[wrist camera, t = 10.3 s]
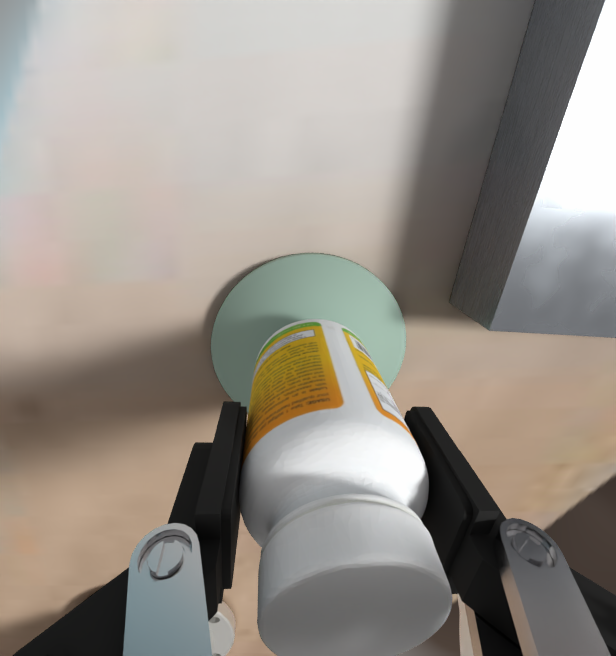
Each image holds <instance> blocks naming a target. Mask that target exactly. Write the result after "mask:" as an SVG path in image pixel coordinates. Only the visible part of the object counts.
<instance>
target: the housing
mask: <svg viewBox="0 0 616 656" xmlns="http://www.w3.org/2000/svg"><path fill="white" fill-rule="evenodd" d="M449 303H450V304H452V305H453V306H455V307H456V308H458V309H459V310H460V311H462V312H463V313H465V314H466V315H468V316H469V317H470V318H472V319H473V320H475V321H476V322H478V323H479V324H481V325H482V326H483V327H485V328H486V329H488V330H489V331H506V332H524V333H541V334H559V335H576V336H594V337H611V338H616V0H536V1H535V4H534V8H533V11H532V15H531V18H530V22H529V25H528V29H527V32H526V36H525V39H524V42H523V46H522V49H521V53H520V56H519V60H518V63H517V67H516V70H515V74H514V77H513V81H512V84H511V88H510V91H509V95H508V98H507V102H506V105H505V109H504V112H503V116H502V119H501V123H500V126H499V130H498V133H497V137H496V140H495V144H494V147H493V151H492V154H491V158H490V161H489V165H488V168H487V172H486V175H485V179H484V182H483V186H482V189H481V193H480V196H479V200H478V203H477V207H476V210H475V214H474V217H473V221H472V224H471V228H470V231H469V235H468V238H467V242H466V245H465V249H464V252H463V256H462V259H461V263H460V266H459V270H458V273H457V277H456V280H455V284H454V287H453V291H452V294H451V298H450V301H449Z"/></svg>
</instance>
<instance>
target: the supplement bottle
mask: <svg viewBox="0 0 616 656" xmlns="http://www.w3.org/2000/svg"><path fill="white" fill-rule="evenodd" d="M428 493H429V477H428V472H427V468H426V465H425V461H424V459H423V457H422V454H421V452H420V450H419V448H418V445H417V443H416V441H415V439H414V438H413V436H412V434H411V432H410V430H409V428H408V427H407V425H406V423H405V421H404V419H403V417H402V415H401V413H400V411H399V410H398V408H397V406H396V404H395V402H394V400H393V398H392V396H391V394H390V392H389V390H388V388H387V387H386V385H385V383H384V381H383V379H382V377H381V375H380V373H379V372H378V370H377V367H376V366H375V364H374V362H373V360H372V358H371V356H370V354H369V352H368V350H367V349H366V347H365V346H364V344H363V343H362V341H361V340H360V339H359V337H358V336H357V335H356V334H355V333H354V332H352V331H351V330H350V329H348V328H347V327H345V326H343V325H341V324H339V323H336V322H333V321H330V320H324V319H307V320H301V321H297V322H294V323H291V324H289V325H287V326H285V327H283V328H281V329H279V330H278V331H276V332H275V333H274V334H273V335H272V336H271V337H269V339H268V340H267V341H266V342H265V344H264V345H263V347H262V348H261V350H260V352H259V354H258V357H257V360H256V363H255V369H254V375H253V381H252V390H251V397H250V405H249V413H248V420H247V427H246V434H245V442H244V450H243V458H242V465H241V473H240V485H239V504H240V511H241V514H242V517H243V520H244V523H245V525H246V527H247V529H248V531H249V533H250V534H251V536H252V537H253V538H254V540H255V541H256V542H257V543H258V544H259V545H260V546H261V547H262V550H261V559H260V564H259V576H258V619H257V624H258V630H259V634H260V637H261V639H262V641H263V642H264V643H265V645H266V646H267V647H268V648H269V649H270V650H271V651H272V652H274V653H275V654H276V655H277V656H396V655H399V654H401V653H404V652H406V651H408V650H410V649H412V648H414V647H416V646H418V645H419V644H421V643H422V642H424V641H425V640H427V639H428V638H429V637H431V636H432V635H433V634H434V633H435V632H436V631H438V630H439V629H440V627H441V626H442V625H443V624H444V622H445V621H446V619H447V617H448V615H449V613H450V610H451V606H452V593H451V588H450V585H449V582H448V579H447V577H446V574H445V572H444V569H443V567H442V564H441V562H440V559H439V556H438V554H437V551H436V549H435V546H434V543H433V540H432V537H431V535H430V533H429V531H428V530H427V529H426V527H425V526H424V525H423V523H422V521H421V518H422V516H423V514H424V511H425V509H426V505H427V501H428Z"/></svg>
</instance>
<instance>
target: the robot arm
mask: <svg viewBox="0 0 616 656" xmlns="http://www.w3.org/2000/svg"><path fill="white" fill-rule="evenodd" d="M404 421H405V423H406V425H407V427H408V428H409V430H410V432H411V434H412V436H413V438H414V439H415V441H416V443H417V445H418V448H419V450H420V452H421V454H422V457H423V459H424V461H425V465H426V468H427V472H428V477H429V493H428V501H427V505H426V509H425V511H424V514H423V516H422V518H421V521H422V523H423V525H424V526H425V527H426V529H427V530H428V531H429V533H430V535H431V537H432V540H433V543H434V546H435V549H436V551H437V554H438V556H439V559H440V562H441V564H442V567H443V569H444V572H445V574H446V577H447V579H448V582H449V585H450V588H451V593H452V594H459V596H460V598H461V600H462V602H463V603H465V610H466V616H467V621H468V627H469V633H470V638H471V644H472V650H473V655H474V656H616V596H615V595H614V594H612V593H610V592H609V591H607V590H605V589H604V588H602V587H601V586H599V585H597V584H596V583H594V582H593V581H591V580H589V579H587V578H586V577H584V576H583V575H581V574H579V573H578V572H576V571H574V570H573V569H571V568H570V567H569V566H568V565H567V562H566V560H565V558H564V556H563V554H562V552H561V551H560V549H559V547H558V546H557V544H556V543H555V542H554V541H553V540H552V539H551V538H550V536H549V535H547V534H546V533H545V532H544V531H542V530H541V529H540V528H538V527H536V526H535V525H533V524H531V523H529V522H527V521H524V520H521V519H515V518H511V519H506V518H505V516H504V515H503V513H502V512H501V510H500V509H499V507H498V506H497V504H496V503H495V501H494V500H493V498H492V497H491V496H490V494H489V493H488V491H487V490H486V488H485V487H484V485H483V484H482V482H481V481H480V479H479V478H478V476H477V475H476V473H475V472H474V470H473V469H472V468H471V466H470V465H469V463H468V462H467V460H466V459H465V457H464V456H463V454H462V453H461V451H460V450H459V449H458V448H457V446H456V445H455V443H454V442H453V440H452V439H451V437H450V436H449V434H448V433H447V431H446V430H445V428H444V427H443V425H442V424H441V423H440V421H439V420H438V418H437V417H436V415H435V414H434V412H433V411H432V409H431V408H429V407H412V408H411V410H410V411H407V412H406V415H405V418H404ZM246 423H247V407H246V406H241V402H224V403H223V406H222V410H221V414H220V418H219V421H218V425H217V429H216V433H215V437H214V441H213V443H198V442H196V443H195V444H194V446H193V448H192V451H191V454H190V457H189V460H188V463H187V467H186V470H185V473H184V476H183V479H182V482H181V485H180V488H179V491H178V494H177V497H176V500H175V503H174V506H173V509H172V512H171V515H170V518H169V521H168V524H165V525H163V526H160V527H158V528H156V529H154V530H152V531H151V532H150V533H148V534H147V535H146V536H145V537H144V538H143V539H142V540H141V541H140V542H139V543H138V544H137V546H136V548H135V550H134V551H133V553H132V556H131V560H130V564H129V568H128V569H126V570H125V571H124V572H122V573H121V574H120V575H118V576H117V577H116V578H114V579H113V580H112V581H110V582H109V583H108V584H106V585H105V586H104V587H102V588H101V589H100V590H98V591H97V592H96V593H94V594H93V595H92V596H90V597H89V598H88V599H86V600H85V601H84V602H82V603H81V604H80V605H78V606H77V607H76V608H74V609H73V610H72V611H70V612H69V613H68V614H66V615H65V616H64V617H62V618H61V619H60V620H58V621H57V622H56V623H54V624H53V625H52V626H50V627H49V628H48V629H47V630H45V631H44V632H43V633H41V634H40V635H39V636H37V637H36V638H35V639H33V640H32V641H31V642H29V643H28V644H27V645H25V646H24V647H23V648H21V649H20V650H19V651H17V652H16V653H15V654H14V655H13V656H225V655H226V654H227V653H228V652H229V651H230V649H231V647H232V645H233V642H234V637H235V623H236V620H235V617H234V614H233V612H232V611H231V609H230V608H229V607H228V605H227V604H226V603H225V602H224V601H222V598H223V591H224V589H231V587H232V580H233V572H234V563H235V555H236V546H237V538H238V529H239V521H240V513H241V511H240V504H239V485H240V473H241V465H242V458H243V450H244V442H245V434H246Z"/></svg>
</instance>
